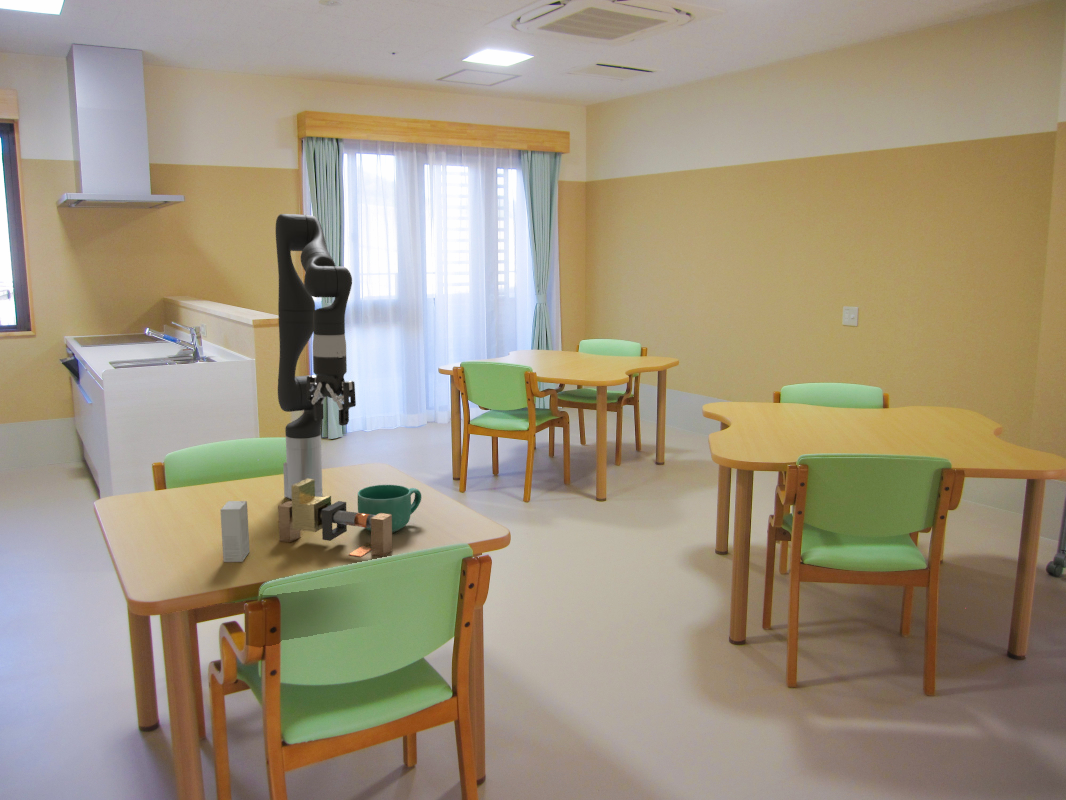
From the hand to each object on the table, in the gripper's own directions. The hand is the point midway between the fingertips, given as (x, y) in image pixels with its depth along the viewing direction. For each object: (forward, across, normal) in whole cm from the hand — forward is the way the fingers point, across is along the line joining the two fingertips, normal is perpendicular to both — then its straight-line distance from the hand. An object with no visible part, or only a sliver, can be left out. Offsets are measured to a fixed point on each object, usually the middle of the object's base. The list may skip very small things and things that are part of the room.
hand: (331, 422), depth 191 cm
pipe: (+27, +8, -6) cm, 29 cm away
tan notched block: (+23, +2, -8) cm, 24 cm away
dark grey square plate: (+24, +8, -6) cm, 26 cm away
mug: (+27, +9, +11) cm, 30 cm away
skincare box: (+27, -4, -24) cm, 37 cm away
